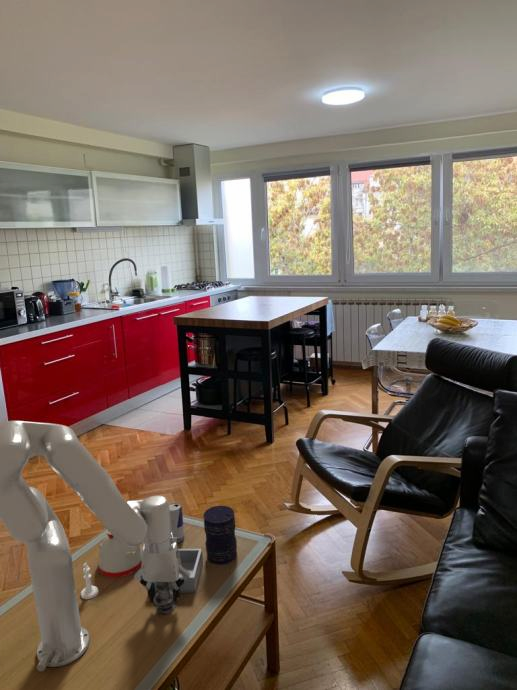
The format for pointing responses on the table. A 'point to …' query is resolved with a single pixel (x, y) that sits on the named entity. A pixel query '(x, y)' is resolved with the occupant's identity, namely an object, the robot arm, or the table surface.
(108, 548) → the kitchen timer
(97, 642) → the table surface
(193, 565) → the box
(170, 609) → the grey pawn
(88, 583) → the chess piece
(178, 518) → the energy drink
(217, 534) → the storage jar
